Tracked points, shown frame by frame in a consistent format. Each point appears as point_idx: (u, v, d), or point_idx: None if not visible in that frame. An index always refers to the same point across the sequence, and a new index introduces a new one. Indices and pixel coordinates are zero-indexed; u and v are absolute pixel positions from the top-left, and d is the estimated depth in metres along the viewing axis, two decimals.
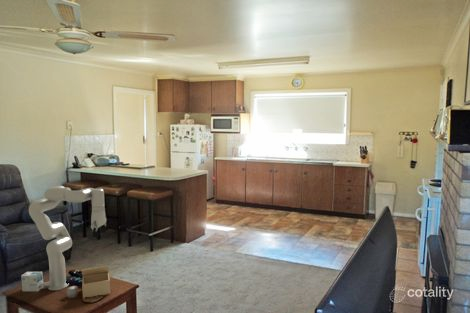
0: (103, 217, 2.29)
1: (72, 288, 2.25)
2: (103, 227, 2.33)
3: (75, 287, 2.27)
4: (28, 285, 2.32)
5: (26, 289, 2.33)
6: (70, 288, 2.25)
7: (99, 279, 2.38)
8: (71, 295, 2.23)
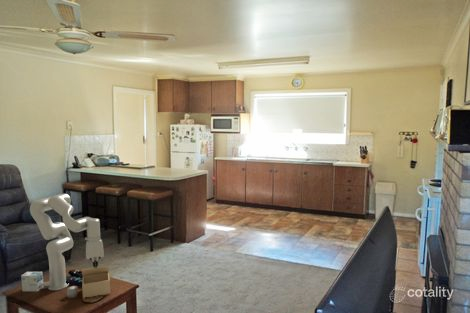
0: None
1: (72, 288, 2.25)
2: (95, 261, 2.26)
3: (75, 287, 2.27)
4: (28, 285, 2.32)
5: (26, 289, 2.33)
6: (70, 288, 2.25)
7: (99, 279, 2.38)
8: (71, 295, 2.23)
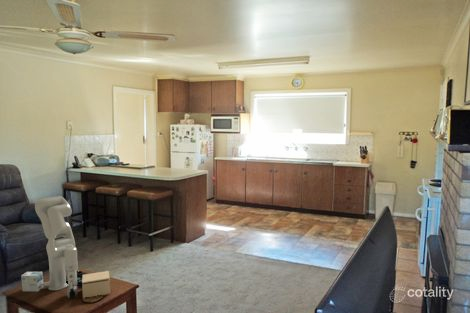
0: (67, 278, 2.23)
1: None
2: None
3: (75, 287, 2.27)
4: (28, 285, 2.32)
5: (26, 289, 2.33)
6: None
7: None
8: None
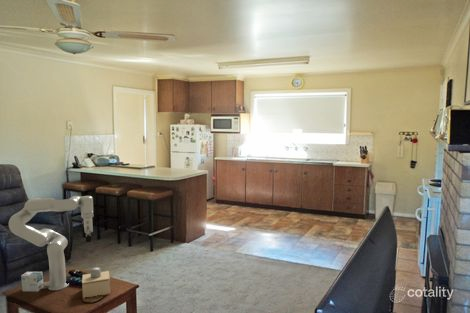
0: None
1: (95, 269, 2.30)
2: None
3: (98, 268, 2.31)
4: (28, 285, 2.32)
5: (26, 289, 2.33)
6: (93, 269, 2.30)
7: None
8: (94, 275, 2.27)
